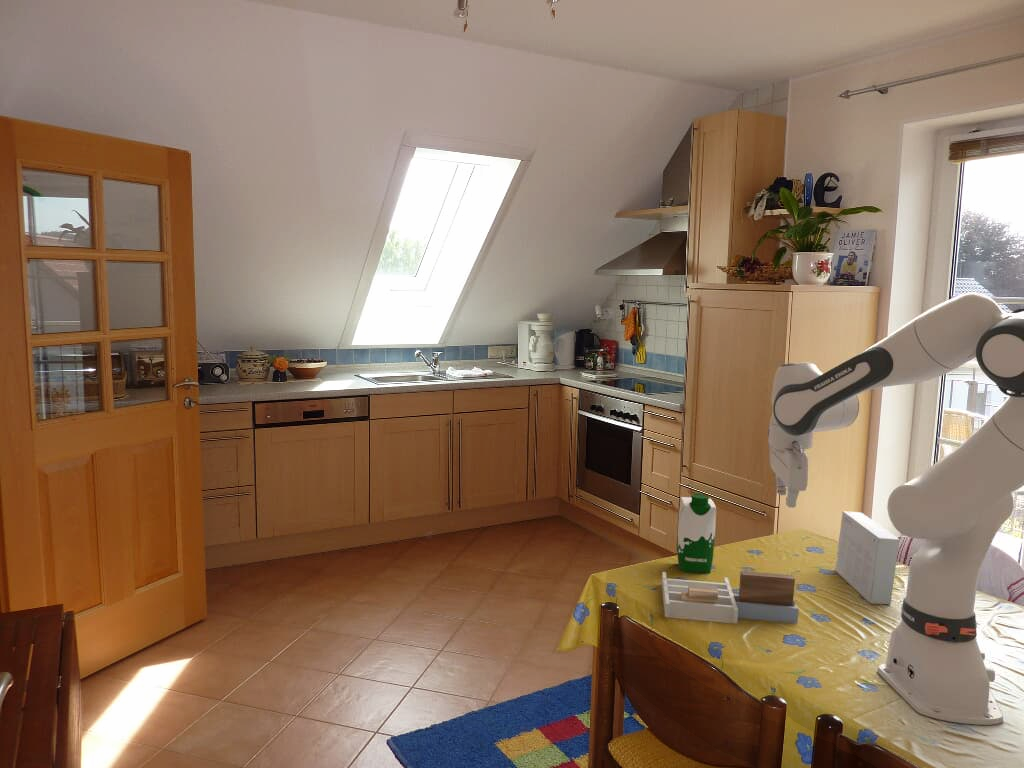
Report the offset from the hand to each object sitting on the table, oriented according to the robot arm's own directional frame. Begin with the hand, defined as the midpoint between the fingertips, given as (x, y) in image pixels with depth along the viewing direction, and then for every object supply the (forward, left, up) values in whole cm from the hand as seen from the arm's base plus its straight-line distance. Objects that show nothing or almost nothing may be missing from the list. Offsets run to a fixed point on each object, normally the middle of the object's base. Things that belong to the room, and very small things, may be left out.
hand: (785, 500), depth 168 cm
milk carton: (+22, +16, -26) cm, 38 cm away
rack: (0, +17, -26) cm, 31 cm away
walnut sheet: (-3, +3, -25) cm, 25 cm away
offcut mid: (-5, +18, -23) cm, 29 cm away
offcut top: (-5, +17, -21) cm, 28 cm away
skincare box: (+21, -24, -26) cm, 41 cm away
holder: (-3, +3, -26) cm, 26 cm away
